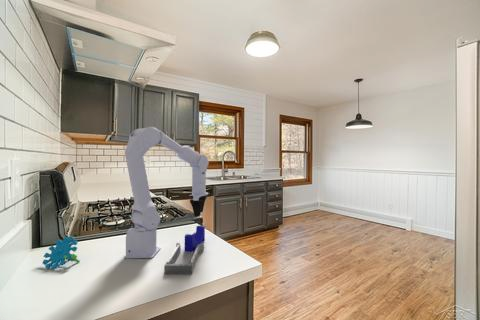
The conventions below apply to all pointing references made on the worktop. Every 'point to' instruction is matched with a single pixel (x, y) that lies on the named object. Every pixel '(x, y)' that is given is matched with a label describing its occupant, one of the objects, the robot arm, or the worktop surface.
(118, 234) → the worktop surface
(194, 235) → the cable clip
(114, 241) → the worktop surface
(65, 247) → the blue knobby toy
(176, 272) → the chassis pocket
